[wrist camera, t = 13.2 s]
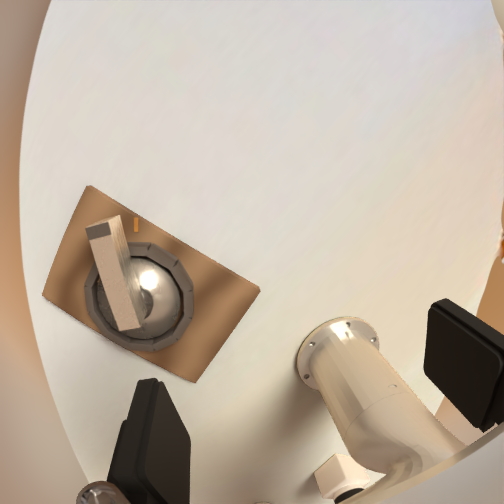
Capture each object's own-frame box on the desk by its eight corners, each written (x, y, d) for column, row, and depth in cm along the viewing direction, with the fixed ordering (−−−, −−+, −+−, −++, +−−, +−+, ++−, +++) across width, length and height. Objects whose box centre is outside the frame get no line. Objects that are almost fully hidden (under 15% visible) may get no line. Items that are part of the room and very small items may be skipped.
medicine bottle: (312, 472, 51) (328, 517, 39) (335, 452, 50) (355, 498, 38) (337, 476, 52) (354, 517, 41) (359, 456, 51) (380, 498, 40)
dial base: (259, 286, 39) (263, 297, 35) (195, 376, 41) (194, 393, 38) (91, 184, 33) (79, 186, 30) (46, 291, 36) (34, 301, 32)
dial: (190, 325, 37) (186, 354, 31) (117, 337, 37) (102, 367, 30) (157, 203, 33) (144, 211, 27) (79, 224, 33) (54, 236, 26)
